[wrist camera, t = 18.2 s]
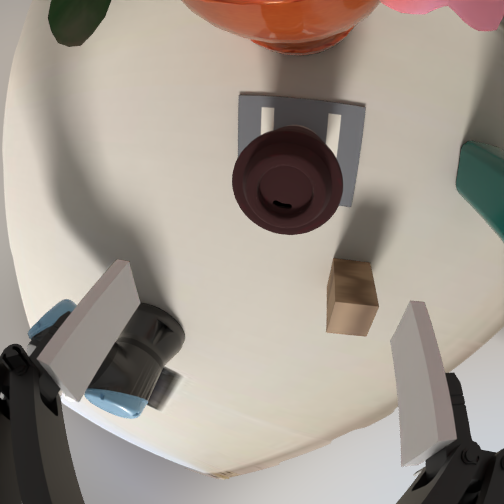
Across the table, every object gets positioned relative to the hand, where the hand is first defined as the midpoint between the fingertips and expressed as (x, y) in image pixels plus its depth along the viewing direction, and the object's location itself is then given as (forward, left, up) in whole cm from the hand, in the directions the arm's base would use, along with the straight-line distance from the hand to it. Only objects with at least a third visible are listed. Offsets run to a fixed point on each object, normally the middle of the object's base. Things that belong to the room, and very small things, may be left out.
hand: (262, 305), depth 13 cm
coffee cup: (0, 0, -28) cm, 29 cm away
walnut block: (+10, -19, -29) cm, 36 cm away
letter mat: (0, 0, -29) cm, 29 cm away
